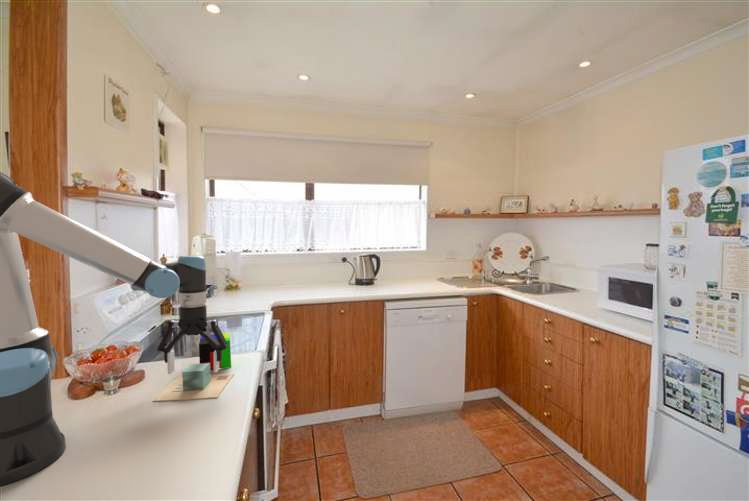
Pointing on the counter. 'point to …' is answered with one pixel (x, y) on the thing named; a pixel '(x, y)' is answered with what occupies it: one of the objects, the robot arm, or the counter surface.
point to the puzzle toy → (208, 353)
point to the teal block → (196, 377)
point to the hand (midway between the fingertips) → (194, 371)
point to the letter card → (210, 391)
